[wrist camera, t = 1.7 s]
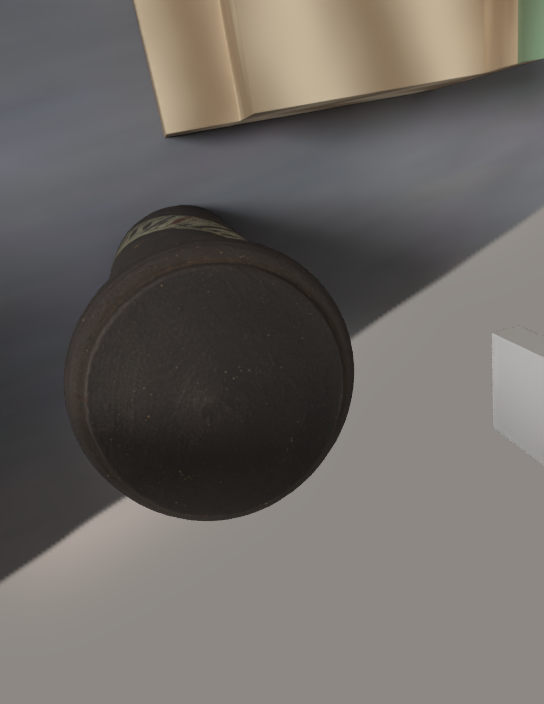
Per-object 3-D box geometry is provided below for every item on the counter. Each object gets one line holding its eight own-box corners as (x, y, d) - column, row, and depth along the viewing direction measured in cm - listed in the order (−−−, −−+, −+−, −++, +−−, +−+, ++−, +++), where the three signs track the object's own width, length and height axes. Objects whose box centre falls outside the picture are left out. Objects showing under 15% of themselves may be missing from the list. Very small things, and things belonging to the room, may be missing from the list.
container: (261, 219, 32) (410, 283, 14) (230, 351, 35) (322, 551, 17) (121, 185, 30) (81, 207, 12) (99, 329, 32) (35, 536, 14)
